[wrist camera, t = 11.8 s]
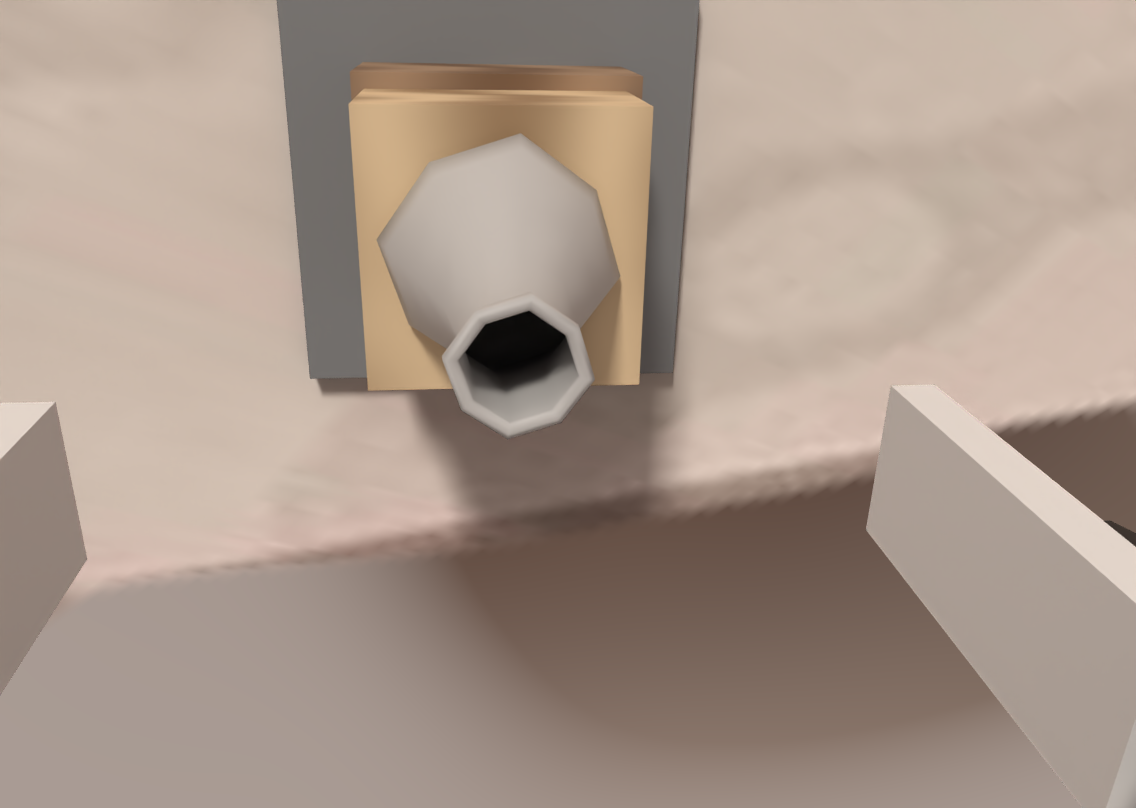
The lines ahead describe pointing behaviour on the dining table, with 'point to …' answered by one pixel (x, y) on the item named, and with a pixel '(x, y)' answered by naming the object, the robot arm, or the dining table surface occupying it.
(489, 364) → the flask
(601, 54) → the grey mat
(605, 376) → the oak block
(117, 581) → the dining table surface
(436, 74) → the walnut block
